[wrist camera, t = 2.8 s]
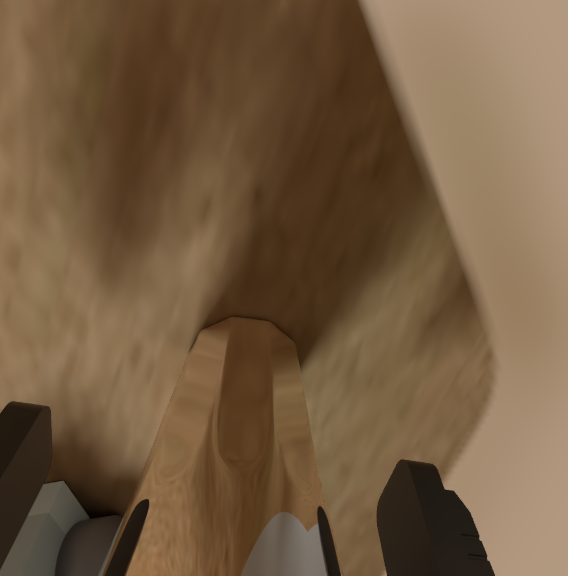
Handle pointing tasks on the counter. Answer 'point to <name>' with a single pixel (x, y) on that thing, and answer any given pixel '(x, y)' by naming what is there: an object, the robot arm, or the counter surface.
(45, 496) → the chassis
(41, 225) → the counter surface
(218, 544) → the milkshake
